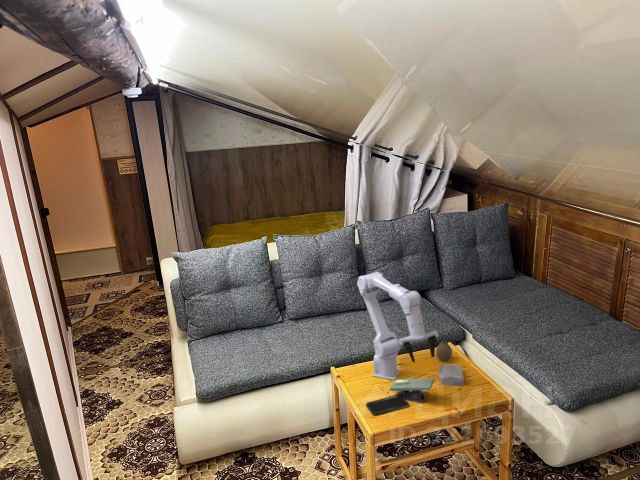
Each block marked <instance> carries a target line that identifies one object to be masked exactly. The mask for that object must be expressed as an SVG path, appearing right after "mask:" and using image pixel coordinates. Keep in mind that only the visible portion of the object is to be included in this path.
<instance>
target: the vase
mask: <svg viewBox="0 0 640 480" xmlns="http://www.w3.org/2000/svg"><path fill="white" fill-rule="evenodd" d="M435 352H436V354H435V355H436V357H437V359H438V360H439V361H440V362H442V363H448V362H449V361H451V360H452V357H453V349H452V347H451V346H450V344H449V343H448V341H446V340H442V341H440V343H439V344H438V345H437V347H436V349H435Z"/></svg>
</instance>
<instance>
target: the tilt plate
mask: <svg viewBox="0 0 640 480" xmlns="http://www.w3.org/2000/svg"><path fill="white" fill-rule="evenodd" d="M434 383H435V378H434V377H432V378H431V377H430V378H429V377H428V378H400V379H395V380H393V383H392V384H391V386H390V387H389V391H390V392H394V391H395V392H397V391H399V392H400V391H406V390H408V391H409V392H412V391H413V390H421V391H430V390H431V389H432V388H433V385H434Z"/></svg>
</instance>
